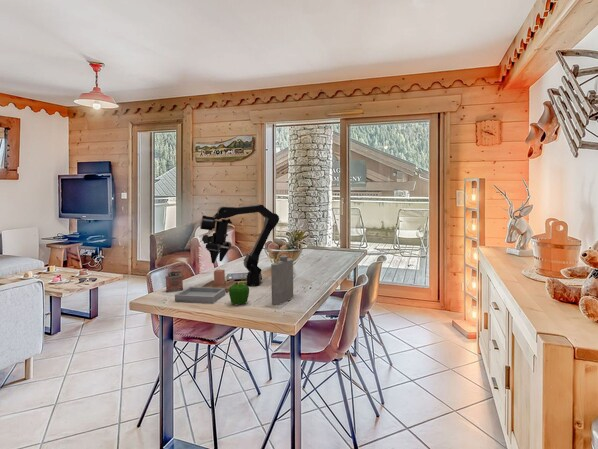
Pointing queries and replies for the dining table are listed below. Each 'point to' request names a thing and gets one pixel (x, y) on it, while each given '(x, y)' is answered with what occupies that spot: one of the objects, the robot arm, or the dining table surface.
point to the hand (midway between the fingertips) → (216, 262)
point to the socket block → (226, 286)
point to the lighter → (174, 281)
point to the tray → (200, 295)
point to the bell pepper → (239, 293)
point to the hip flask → (282, 280)
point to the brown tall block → (219, 277)
